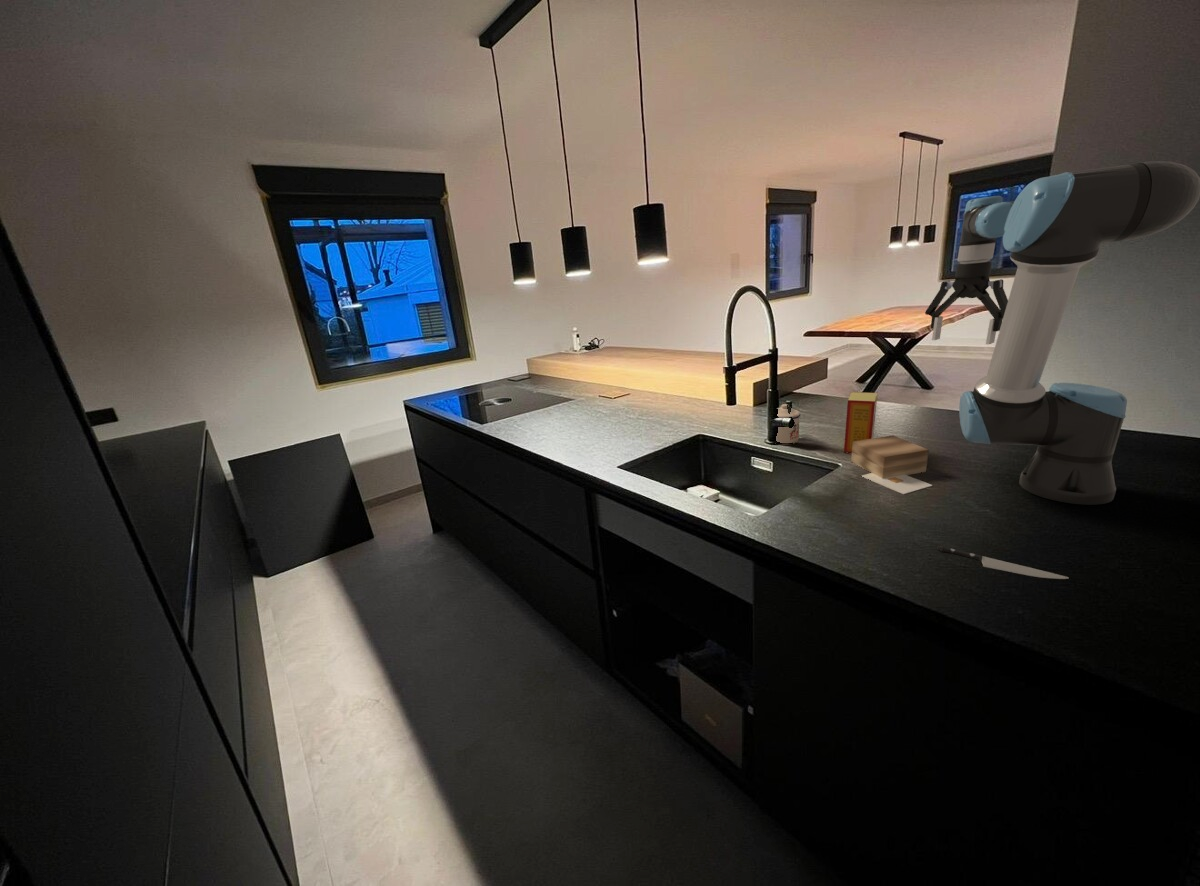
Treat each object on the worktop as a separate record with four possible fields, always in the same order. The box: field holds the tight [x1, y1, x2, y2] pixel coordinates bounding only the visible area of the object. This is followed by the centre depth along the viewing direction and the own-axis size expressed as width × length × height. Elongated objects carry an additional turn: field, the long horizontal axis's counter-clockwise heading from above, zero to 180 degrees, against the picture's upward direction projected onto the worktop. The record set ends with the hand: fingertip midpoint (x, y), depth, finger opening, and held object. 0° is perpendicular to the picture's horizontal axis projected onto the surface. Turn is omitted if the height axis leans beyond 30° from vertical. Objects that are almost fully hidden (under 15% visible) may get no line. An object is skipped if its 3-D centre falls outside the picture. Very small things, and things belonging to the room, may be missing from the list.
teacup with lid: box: [776, 403, 801, 443], centre depth 149 cm, size 12×9×12 cm
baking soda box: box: [843, 391, 878, 454], centre depth 135 cm, size 10×6×16 cm
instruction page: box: [861, 472, 933, 495], centre depth 116 cm, size 12×9×1 cm
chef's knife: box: [936, 545, 1069, 580], centre depth 83 cm, size 19×1×3 cm
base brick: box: [850, 434, 930, 478], centre depth 123 cm, size 12×12×6 cm
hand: (961, 341), depth 134 cm, fingers open, 13 cm apart
